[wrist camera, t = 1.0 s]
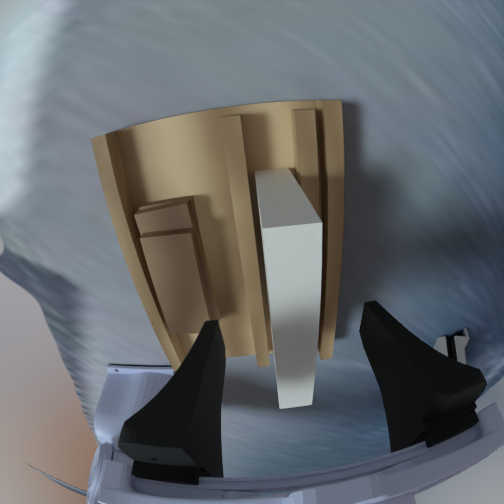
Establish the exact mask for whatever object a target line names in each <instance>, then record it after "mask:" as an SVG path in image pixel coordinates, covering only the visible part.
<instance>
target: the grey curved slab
mask: <svg viewBox="0 0 504 504" xmlns="http://www.w3.org/2000/svg"><path fill="white" fill-rule="evenodd" d="M468 340H469V335H468V331H467V328H464V329H463V332H462V334H461V336H454V339H451V342H450V344H449V342H448V339H446V336H443V337H439V338H438V339H436V342H435V345H434V347H433V348H434V349H435V350H437V351H439V352H440V353H442V354H444V355H446V356H448V357H450V358H452V359H454V360H456V361H458V362H461V363H463V364H466V357H465V350H464V349H465V347H466V344H467V342H468Z"/></svg>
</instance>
